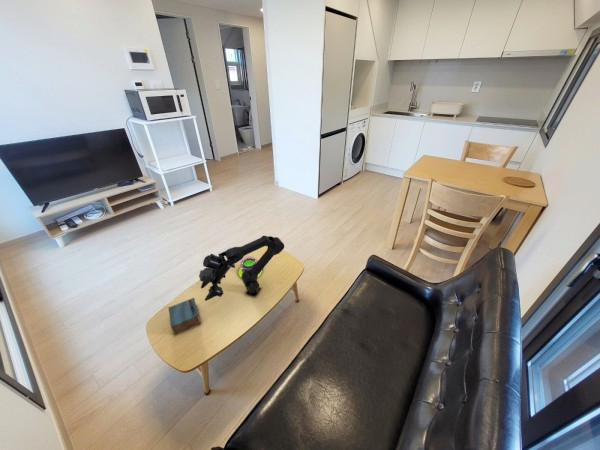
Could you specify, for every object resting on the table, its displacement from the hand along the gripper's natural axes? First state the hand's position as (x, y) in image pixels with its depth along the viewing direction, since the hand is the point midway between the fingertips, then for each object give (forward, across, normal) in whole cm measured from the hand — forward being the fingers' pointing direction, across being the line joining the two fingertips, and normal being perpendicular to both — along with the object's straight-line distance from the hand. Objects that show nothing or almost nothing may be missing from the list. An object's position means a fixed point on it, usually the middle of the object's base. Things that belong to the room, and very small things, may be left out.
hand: (203, 294), depth 122 cm
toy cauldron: (-12, -17, +31) cm, 37 cm away
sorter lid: (+13, 0, -3) cm, 13 cm away
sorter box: (+18, 0, +1) cm, 18 cm away
